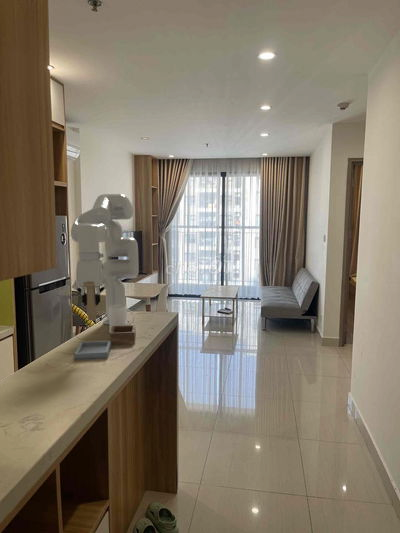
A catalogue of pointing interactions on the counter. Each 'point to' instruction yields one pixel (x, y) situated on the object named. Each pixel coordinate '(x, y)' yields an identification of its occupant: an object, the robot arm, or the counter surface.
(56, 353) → the counter surface
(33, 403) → the counter surface
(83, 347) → the tray
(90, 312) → the handle
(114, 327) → the holder
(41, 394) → the counter surface
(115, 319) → the mug
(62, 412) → the counter surface
